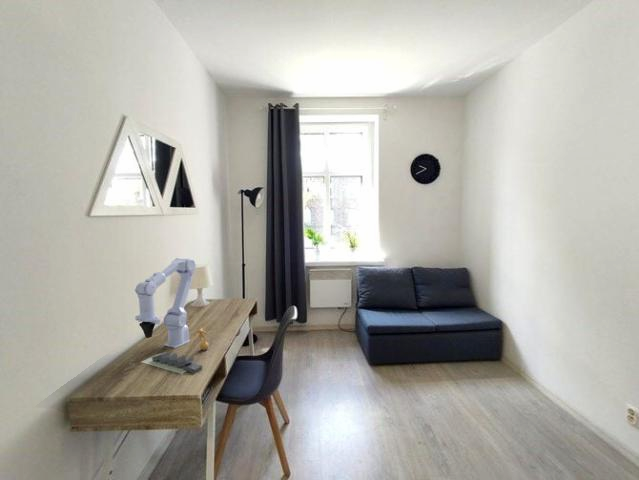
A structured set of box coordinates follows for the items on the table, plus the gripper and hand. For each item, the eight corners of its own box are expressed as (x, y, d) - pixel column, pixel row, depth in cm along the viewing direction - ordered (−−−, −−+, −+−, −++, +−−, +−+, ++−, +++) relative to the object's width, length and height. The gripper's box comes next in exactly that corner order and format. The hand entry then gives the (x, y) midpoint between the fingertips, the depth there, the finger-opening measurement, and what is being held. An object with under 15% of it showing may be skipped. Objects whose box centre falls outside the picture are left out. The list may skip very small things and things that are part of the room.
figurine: (214, 348, 152) (213, 324, 151) (208, 353, 146) (207, 329, 145) (198, 347, 153) (197, 324, 152) (192, 353, 147) (190, 328, 146)
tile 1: (151, 357, 139) (161, 354, 136) (159, 354, 142) (168, 351, 139) (153, 361, 139) (162, 358, 136) (160, 357, 142) (170, 354, 139)
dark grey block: (175, 364, 132) (185, 359, 129) (182, 360, 136) (192, 356, 133) (176, 368, 132) (186, 364, 129) (183, 364, 135) (194, 360, 133)
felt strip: (158, 354, 146) (158, 353, 146) (198, 364, 135) (198, 364, 135) (140, 362, 138) (140, 361, 138) (181, 374, 127) (181, 373, 127)
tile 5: (182, 365, 130) (194, 369, 127) (190, 361, 134) (202, 365, 131) (183, 369, 130) (195, 373, 127) (190, 365, 134) (202, 369, 131)
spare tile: (159, 359, 137) (168, 356, 134) (166, 356, 140) (176, 353, 137) (160, 363, 136) (170, 360, 133) (167, 359, 140) (177, 356, 137)
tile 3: (166, 361, 135) (176, 358, 132) (174, 357, 138) (184, 355, 135) (167, 365, 134) (178, 362, 131) (175, 361, 138) (185, 359, 135)
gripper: (128, 308, 140) (130, 337, 141) (149, 312, 134) (151, 343, 135) (142, 304, 146) (144, 332, 147) (163, 308, 140) (165, 337, 141)
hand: (148, 337), depth 142 cm, fingers closed
